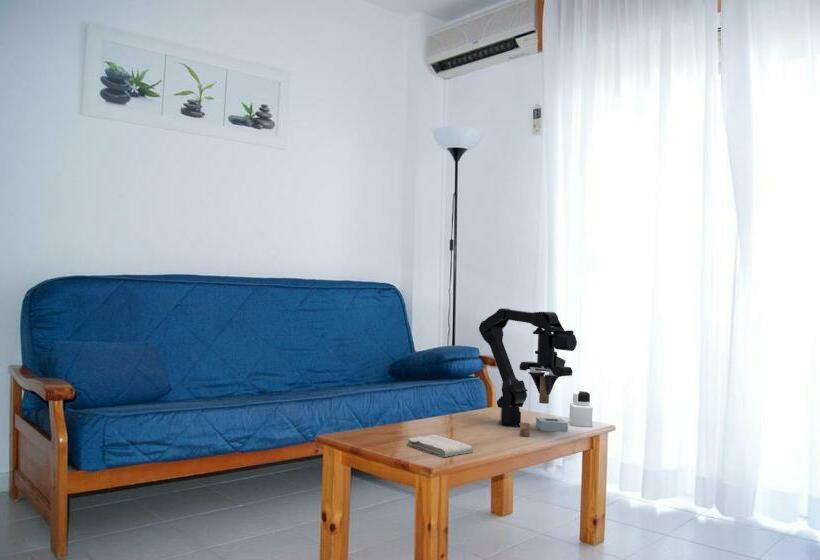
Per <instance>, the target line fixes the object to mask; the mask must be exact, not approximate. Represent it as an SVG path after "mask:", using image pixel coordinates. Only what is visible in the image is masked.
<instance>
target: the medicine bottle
mask: <svg viewBox="0 0 820 560" xmlns="http://www.w3.org/2000/svg"><path fill="white" fill-rule="evenodd" d="M590 400H591V393H590V392H588V391H584V390H583V391H582V390H580V391H579V390H578V391H577V390H576V391H573V393H572V402H571V403H569V415H568V416H569V419H568V420H569V423H570V425H571V426H572V427H584V428H585V427H586V428H588V427H591V428H593V408H594V407H592V405H591V404H590V402H591V401H590Z"/></svg>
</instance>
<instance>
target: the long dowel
mask: <svg viewBox="0 0 820 560" xmlns="http://www.w3.org/2000/svg"><path fill="white" fill-rule="evenodd" d="M538 395H539V396H538V398H539V399H538V400H539V401H538V403H539V404H545V405H547V404H549V403H550V395H547V392H546V382H545V375H544V376H540V393H538Z"/></svg>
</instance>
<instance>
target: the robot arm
mask: <svg viewBox="0 0 820 560" xmlns="http://www.w3.org/2000/svg"><path fill="white" fill-rule="evenodd" d="M509 321H512V322H513V321H515V322H520V323H528V324H530V325H532V326H534V327H536V329H535V330H534V331H532V334H533V335H537V350H535V351H534V353H535V355H537V357H536V359H537V360H536V361H521V362H520V364H519V370H520V371H525V372H526V371H527V370H529V371H528V373H527V374H528V375H530V377H531V379H532V381H533V383H534V384H535V387H536V389H537V392H538V394H540V376H545V382H546V392H547V395H549V396H550V395H551V393H552V390H553V388H554V384H555V383H556V381H557V380H558V379H559V378H561V377H573V369H572V367H571V366H566V365H565V364H566V359H564V358H562V357H559V356H558V352H557V351H558V350H560V351H569V352H573V351H574V350H575V349H576V347H577V344H578V343H577V342H578V341H577V337H576V335H575V334H574V330H573V329H571V330H569V329H567V330H565V329H564V327H563V325H562V324H561V322H560V320H559V316H558V315H557V313H556V312H554V311H538V312H537V311H534V312H531V311H524V310H523V311H522V310H516V309H512V308H505V307H504V308H502V307H501V308H499V309H498V310H496V312H494V313H493V314H491V315H490V316H488V317H487V318H485V319H484V320H482V321H481V322H480V324H479V326H478V331H479V333H480V335H481V337H482V339H483V340H484V341H485V342H486V343H487V345H489V347H490V350H491V354H492V356H493V358H494V362H495V365H496V367H497V369H498V372H499V375H500V378H501V382H502V384H501V396H500V397H499V398H498V399H497V400H496V404H497V408H500V416H499V417H500V418H499V419H500V420H499V421H498V423H499V425H501V426H503V427H504V426H506V427H507V426H508V427H509V426H511V427H520V423H522V422H521V419H522V412H521V411H520V408H523V405H524V404H525V402H526V400H527V397H528V393H527V392H528V390H527V388H526V384H525V382H524V380H518V379H517V377H516V375H515V373H514V372H515V371H514V369H513V367H512V364H511V361H510V359H509V356H508V353H507V350H506V347H505V345H504V341H503V339H504V331H503V330H504V328H505V327H507V324H508V323H509ZM555 350H557V351H555ZM546 372H547V373H548V374H546Z"/></svg>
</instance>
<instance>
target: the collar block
mask: <svg viewBox="0 0 820 560" xmlns="http://www.w3.org/2000/svg"><path fill="white" fill-rule="evenodd" d="M568 424H569V423H568V422H567V421H565V419H563V418H562V417H545V416H543V417H542V416H541V417H540V416H539V417H538V416H536V417H535V427H536V428H538V429H539V430H540V431H541V432H561V433H562V432H563V433H567V432H568V426H569V425H568Z"/></svg>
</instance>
